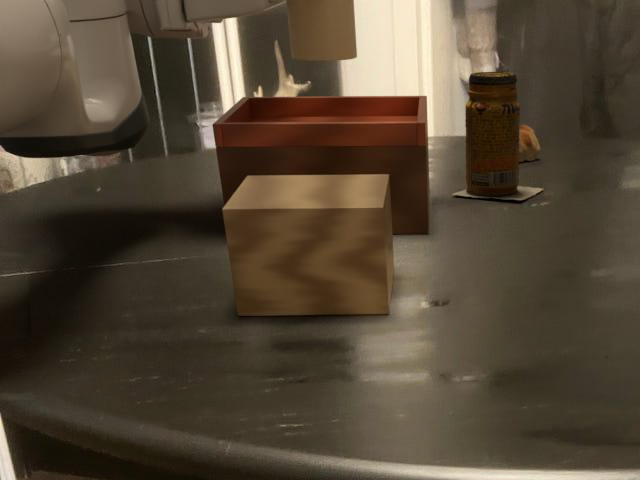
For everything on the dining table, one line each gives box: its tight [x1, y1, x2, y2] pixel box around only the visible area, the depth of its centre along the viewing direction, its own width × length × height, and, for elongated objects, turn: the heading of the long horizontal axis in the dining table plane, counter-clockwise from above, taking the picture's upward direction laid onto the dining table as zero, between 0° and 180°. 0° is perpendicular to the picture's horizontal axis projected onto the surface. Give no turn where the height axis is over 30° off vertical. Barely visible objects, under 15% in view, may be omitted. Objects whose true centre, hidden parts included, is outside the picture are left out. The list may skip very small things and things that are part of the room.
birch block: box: [221, 174, 395, 317], centre depth 80 cm, size 12×12×8 cm
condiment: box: [452, 71, 544, 201], centre depth 109 cm, size 7×8×12 cm
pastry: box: [519, 124, 541, 163], centre depth 127 cm, size 9×7×4 cm
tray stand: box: [212, 95, 431, 235], centre depth 102 cm, size 20×18×10 cm
